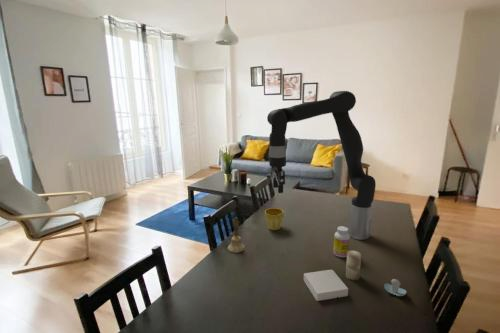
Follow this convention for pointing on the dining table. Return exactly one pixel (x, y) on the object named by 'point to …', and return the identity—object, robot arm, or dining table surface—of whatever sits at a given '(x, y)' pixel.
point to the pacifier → (395, 288)
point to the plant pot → (274, 218)
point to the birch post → (353, 265)
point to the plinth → (325, 285)
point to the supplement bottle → (341, 242)
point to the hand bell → (236, 239)
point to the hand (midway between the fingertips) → (278, 190)
